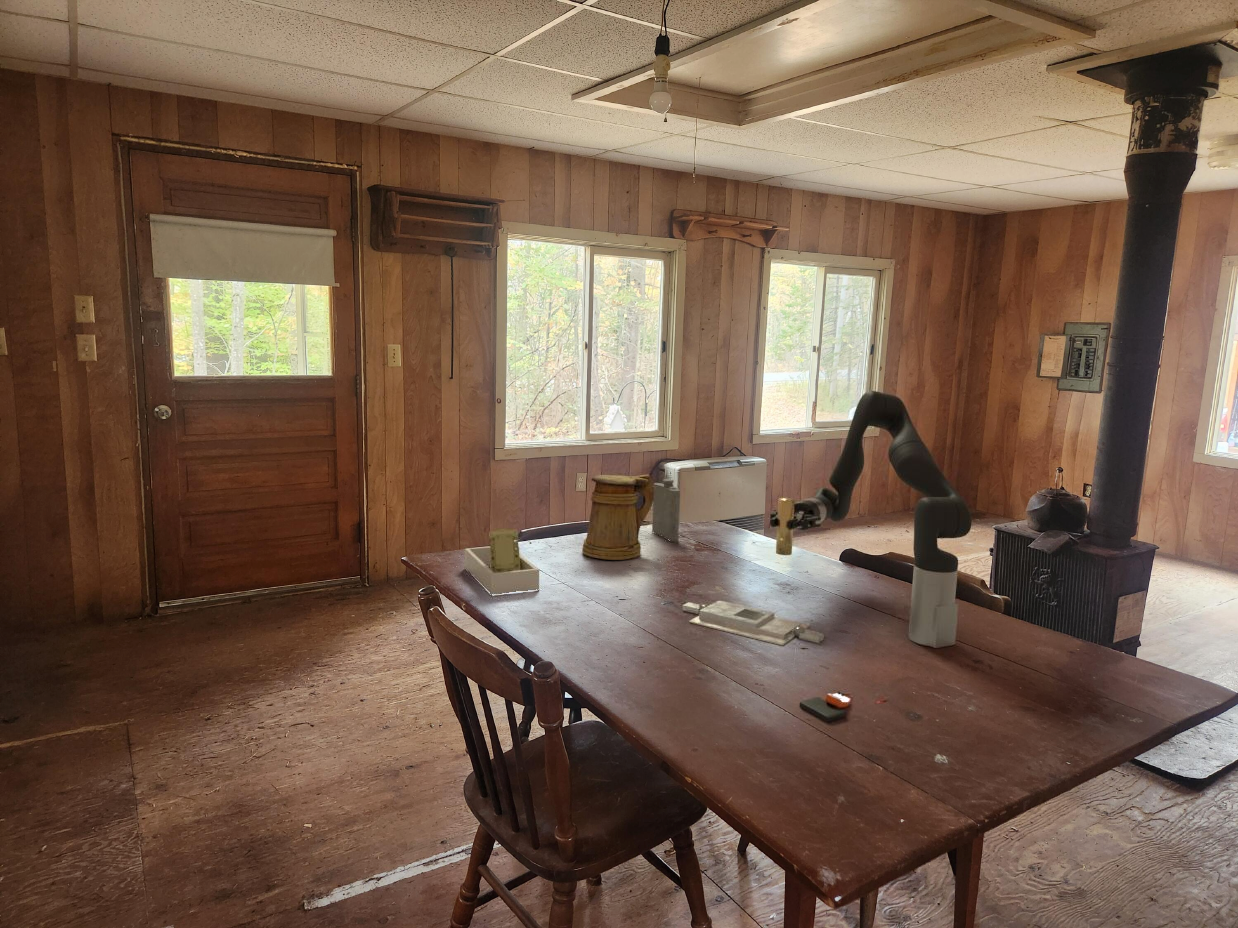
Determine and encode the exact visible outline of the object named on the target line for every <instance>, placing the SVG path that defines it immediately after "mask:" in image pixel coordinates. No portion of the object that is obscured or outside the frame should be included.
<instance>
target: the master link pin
mask: <svg viewBox="0 0 1238 928" xmlns="http://www.w3.org/2000/svg"><path fill="white" fill-rule="evenodd" d="M777 500H778V502H777V504H778V505H777V511H778V518H777V526H776V541H775V542H776V543H775V545H776V546H775V555H776V554H777V555H779V556H792V554H793V542H794V541H793V538H794V536H793V535H794V529H792V530H788V521H790V520H793V519H794V504H795V503H796V502H795V499H794V498H791V497H780V498H778V499H777Z"/></svg>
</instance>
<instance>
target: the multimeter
mask: <svg viewBox="0 0 1238 928" xmlns="http://www.w3.org/2000/svg"><path fill="white" fill-rule="evenodd" d="M849 697H850V698H849ZM851 698H853V696H852V694H849V693H843V692H841V691H838V692H837V693H826V695H825V699H823V698H821V697H820V696H819V697H818V696H817V697H816V696H815V697H812V698H808V699H804V700H802V701H801V700H800V701H799V708H800V709H802V710H803V711H805V712H807V713H810V714H811V715H813V716H815V717H816V718H819V719H820V720H821V721H823V722H825V723H826V724H830V723H833V722H836V721H841V720H844V719H846V718H847V711H846V710H844V709H842V708H846V707H848V706H849V705H850V704H851V701H852V700H851ZM887 700H888V698H885V699H881V700H880V701H876V703H877V704H878V703H883V702H886V701H887Z"/></svg>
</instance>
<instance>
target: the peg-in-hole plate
mask: <svg viewBox="0 0 1238 928" xmlns="http://www.w3.org/2000/svg"><path fill="white" fill-rule="evenodd" d="M682 612H687V613H692V614H696V615H698V616H695V617H694V618H692V619H689V622H688V623H691V624H694V625H698V626H701V627H702V626H703V627H706V628H710V629H714V630H719V631H722V632H726V633H731V634H735V635H739V636H743V637H747V638H751V639H755V640H758V641H762V642H763V641H764V642H767V643H770V644H775V645H779V646H782V647H783V646H784V645H785V644H787V643H788V642H789V641H791V640H793V639H794V638H797V639H800V640H803V641H808V642H812V643H814V644H815V643H816V644H819V643H820V642H822V641H823V640H824V636H825V634H824V633H823V632H818V631H814V630H811V629H809V628H810V627H811V624H809V623H805V622H800V621H798V620H797V621H795V620H792V619H787V618H782V617H779V616H775V612H772V611H769V610H763V609H760V608H755V607H750V606H746V605H742V604H739V603H738V604H737V603H733V602H728V601H725V600H724V601H723V600H717V601H715V602H713V603H710V604H708V603H701V604H698V603H694V602H686V603H684V604H683V605H682Z"/></svg>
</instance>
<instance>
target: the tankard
mask: <svg viewBox="0 0 1238 928" xmlns="http://www.w3.org/2000/svg"><path fill="white" fill-rule="evenodd" d="M650 476H651V475H649V474H648V473H647V474H642V475H641V474H640V475H637V476H635V475H634V476H633V475H620V474H619V475H618V474H617V475H614V474H613V475H611V474H600V475H596V476H593V477H592V478H591V481H592V482H594V483H595V486H594V489H593V490H592V492H591V495H590V501H591V507H590V508H591V509H590V515H589V521H588V527H587V531H586V532H587V533H586V538H585V539H584V540H583V544H582V548H581V549H582V553H583V554H584V555H585V556H588V557H589V558H595V559H600V560H601V559H602V560H612V561H622V560H623V561H624V560H631V558H632V559H635V558H637V557H639V556H640V555H641V550H642V547H641V542H640V541H639V536H640V535H639V534H640V529H641V525H642V524H643V522H644V520H645V518H646V517H647V515H648V514H649V512H650V511H651V508H652V507H653V499H654V483H653V481H652V479H651V477H650ZM637 493H640V494H641V496H642V498H643V499H642V504H641V505H640V506H639V507H636V503H638V500H639V496H638V494H637Z"/></svg>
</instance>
